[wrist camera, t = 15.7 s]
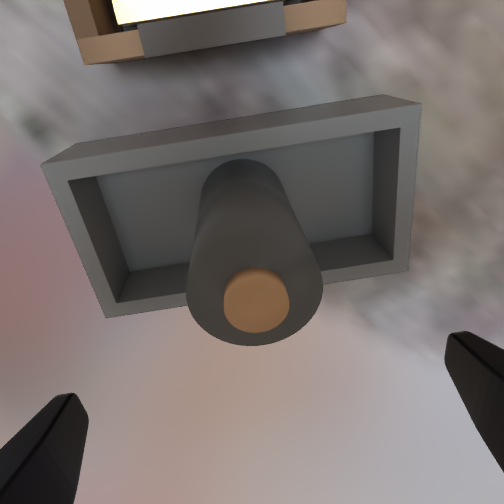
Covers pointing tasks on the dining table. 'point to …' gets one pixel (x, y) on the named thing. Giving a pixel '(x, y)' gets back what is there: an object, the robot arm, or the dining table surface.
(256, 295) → the battery cell
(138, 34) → the frame
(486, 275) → the dining table surface
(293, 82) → the dining table surface
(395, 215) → the trough
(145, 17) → the plate
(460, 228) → the dining table surface
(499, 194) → the dining table surface
